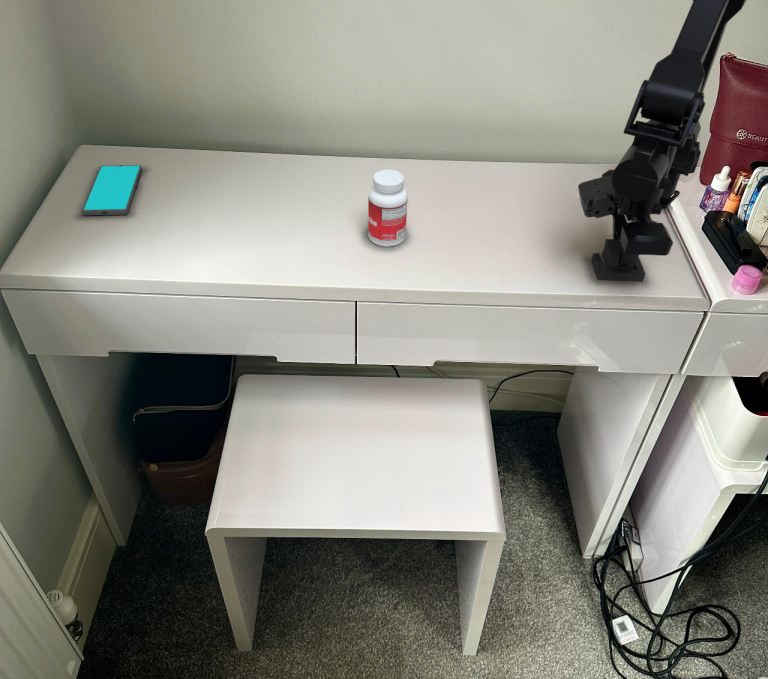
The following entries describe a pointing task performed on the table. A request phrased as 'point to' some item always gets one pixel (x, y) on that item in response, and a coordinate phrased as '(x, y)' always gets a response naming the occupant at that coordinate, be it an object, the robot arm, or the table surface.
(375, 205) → the pill bottle
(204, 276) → the table surface
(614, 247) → the dark grey block
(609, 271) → the black u-shaped bracket
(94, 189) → the smartphone
